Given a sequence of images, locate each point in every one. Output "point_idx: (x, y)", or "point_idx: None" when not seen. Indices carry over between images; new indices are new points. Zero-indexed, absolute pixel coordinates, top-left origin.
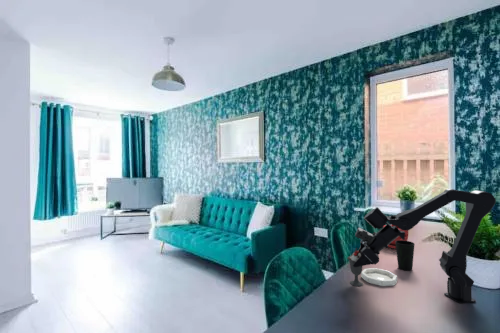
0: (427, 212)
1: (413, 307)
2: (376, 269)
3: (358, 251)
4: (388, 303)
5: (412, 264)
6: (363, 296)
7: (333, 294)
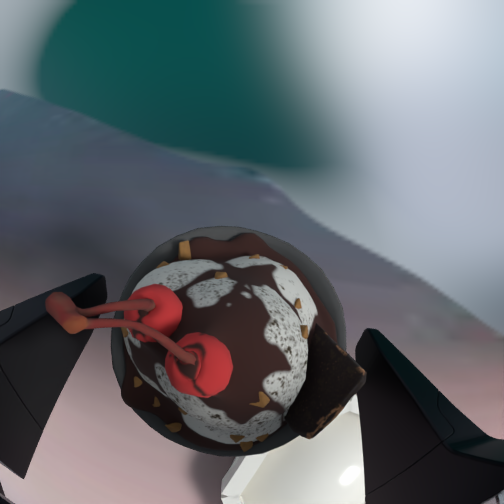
0: None
1: (38, 497)
2: None
3: (189, 392)
4: None
5: None
6: None
7: (88, 193)
